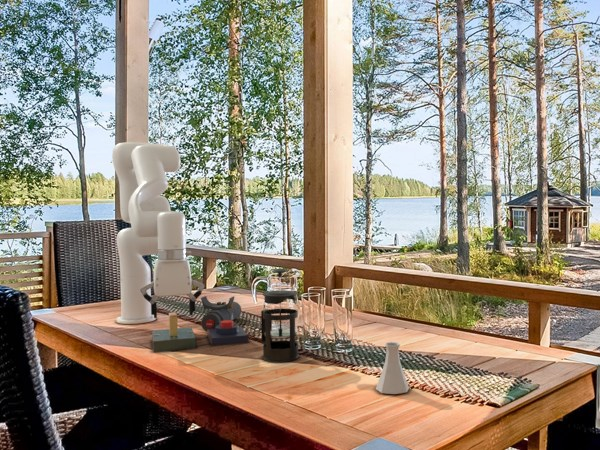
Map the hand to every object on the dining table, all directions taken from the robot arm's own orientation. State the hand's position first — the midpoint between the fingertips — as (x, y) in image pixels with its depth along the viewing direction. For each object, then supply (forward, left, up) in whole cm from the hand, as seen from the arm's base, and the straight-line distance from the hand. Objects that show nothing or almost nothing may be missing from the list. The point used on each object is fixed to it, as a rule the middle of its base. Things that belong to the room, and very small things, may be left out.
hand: (173, 315), depth 161 cm
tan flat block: (0, 0, -5) cm, 5 cm away
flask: (+58, +42, -8) cm, 72 cm away
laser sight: (-19, +16, -8) cm, 26 cm away
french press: (+24, +25, -8) cm, 35 cm away
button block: (0, +15, -8) cm, 17 cm away
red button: (0, +15, -5) cm, 16 cm away
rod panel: (0, 0, -8) cm, 8 cm away
